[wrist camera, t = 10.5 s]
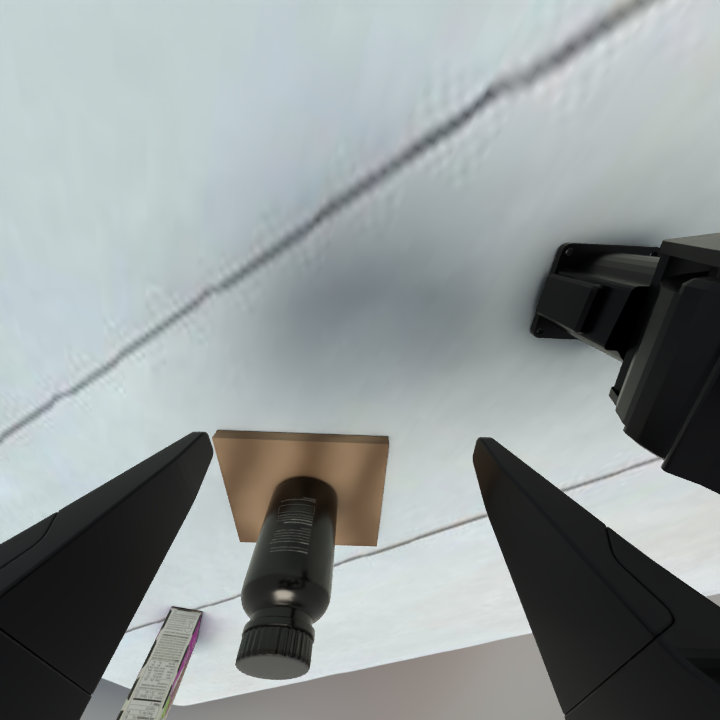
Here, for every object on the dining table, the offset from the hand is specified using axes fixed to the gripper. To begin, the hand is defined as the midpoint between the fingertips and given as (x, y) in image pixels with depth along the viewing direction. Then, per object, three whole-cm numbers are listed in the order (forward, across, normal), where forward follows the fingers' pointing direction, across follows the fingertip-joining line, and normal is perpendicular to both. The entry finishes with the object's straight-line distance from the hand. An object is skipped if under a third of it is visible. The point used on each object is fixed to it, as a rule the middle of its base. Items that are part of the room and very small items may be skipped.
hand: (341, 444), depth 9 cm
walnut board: (+12, +5, +19) cm, 23 cm away
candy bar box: (+12, +28, +51) cm, 59 cm away
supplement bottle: (+12, +5, +19) cm, 23 cm away
